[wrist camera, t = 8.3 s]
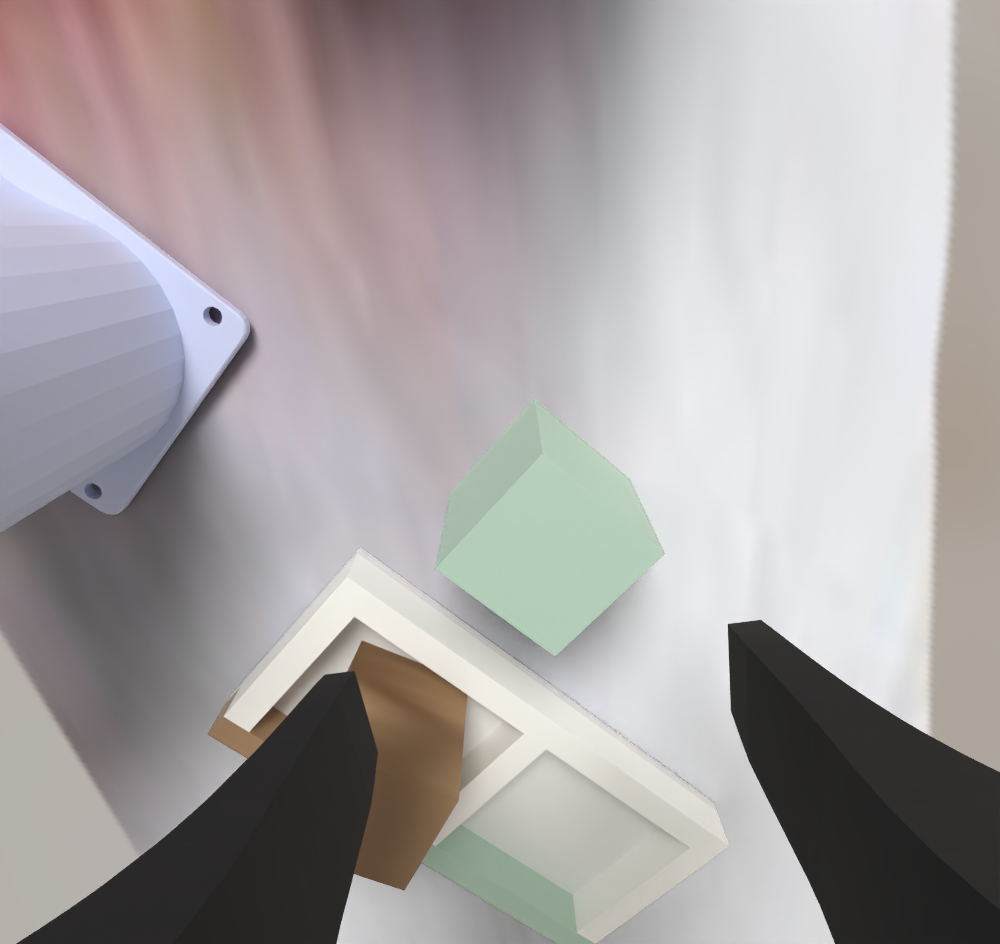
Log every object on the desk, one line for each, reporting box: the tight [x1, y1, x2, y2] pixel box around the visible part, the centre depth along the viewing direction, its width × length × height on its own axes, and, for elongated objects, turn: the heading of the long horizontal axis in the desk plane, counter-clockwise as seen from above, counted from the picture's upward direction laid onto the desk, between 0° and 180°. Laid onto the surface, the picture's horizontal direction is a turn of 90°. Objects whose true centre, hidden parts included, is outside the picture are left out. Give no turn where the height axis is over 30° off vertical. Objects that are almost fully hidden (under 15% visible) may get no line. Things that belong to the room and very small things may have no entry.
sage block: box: [435, 398, 665, 656], centre depth 18 cm, size 4×4×5 cm
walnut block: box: [347, 641, 467, 890], centre depth 21 cm, size 4×4×5 cm
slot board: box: [208, 548, 729, 944], centre depth 24 cm, size 17×8×2 cm, turn 49°
